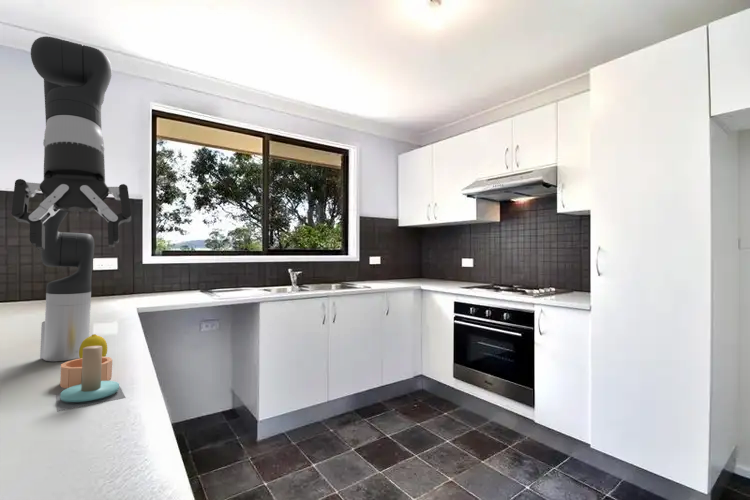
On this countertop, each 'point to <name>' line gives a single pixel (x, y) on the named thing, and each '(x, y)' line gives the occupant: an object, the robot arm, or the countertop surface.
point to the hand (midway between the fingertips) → (77, 247)
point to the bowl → (73, 372)
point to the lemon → (94, 344)
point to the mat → (70, 405)
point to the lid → (90, 379)
